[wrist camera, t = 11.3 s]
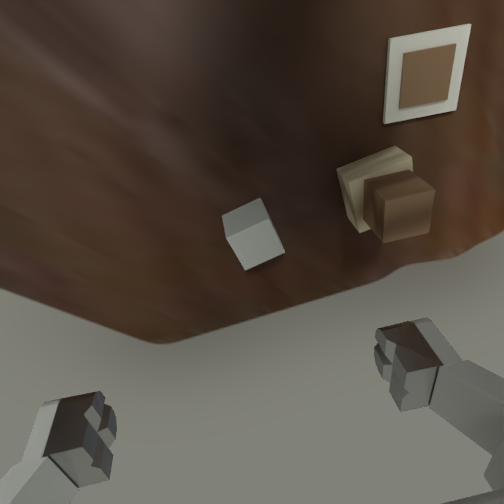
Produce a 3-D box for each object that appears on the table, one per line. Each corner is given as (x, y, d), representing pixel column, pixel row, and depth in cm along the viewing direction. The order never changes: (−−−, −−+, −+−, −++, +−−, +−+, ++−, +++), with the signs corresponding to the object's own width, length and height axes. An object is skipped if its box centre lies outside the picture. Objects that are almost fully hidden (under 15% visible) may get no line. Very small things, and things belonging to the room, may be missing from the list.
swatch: (388, 38, 35) (392, 39, 35) (467, 23, 36) (473, 24, 35) (382, 122, 40) (385, 124, 39) (453, 108, 40) (457, 110, 40)
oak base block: (335, 168, 42) (348, 182, 39) (393, 144, 42) (411, 156, 39) (347, 216, 46) (359, 233, 43) (400, 195, 46) (417, 211, 43)
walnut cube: (364, 179, 39) (385, 201, 35) (409, 169, 39) (435, 189, 35) (363, 219, 42) (382, 243, 38) (405, 209, 42) (429, 232, 38)
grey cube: (221, 215, 43) (226, 238, 39) (260, 197, 43) (268, 218, 39) (239, 246, 46) (245, 270, 42) (275, 229, 46) (285, 252, 42)
